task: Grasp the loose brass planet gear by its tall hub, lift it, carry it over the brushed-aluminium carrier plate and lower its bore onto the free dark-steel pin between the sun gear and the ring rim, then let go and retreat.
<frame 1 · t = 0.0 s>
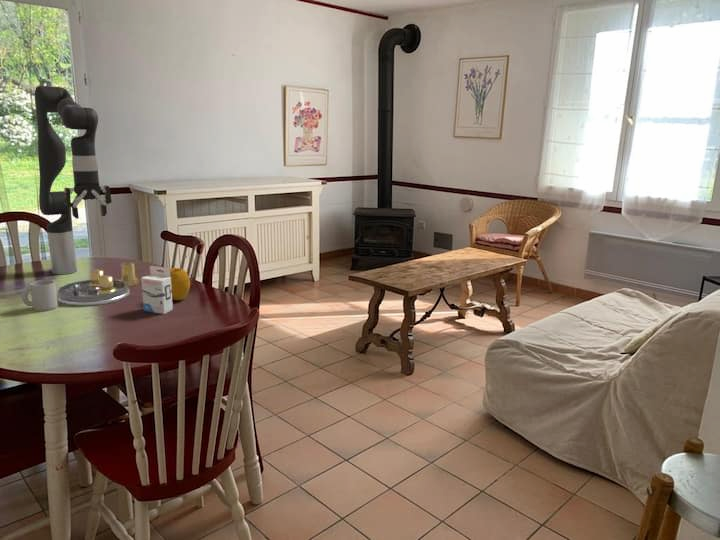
hand: (90, 217, 188), 29 cm above the table, fingers open, 8 cm apart
cup: (41, 309, 184), on the table
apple: (177, 299, 197), on the table
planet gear: (129, 283, 214), on the table
carrier: (94, 295, 198), on the table
ink box: (158, 311, 185), on the table
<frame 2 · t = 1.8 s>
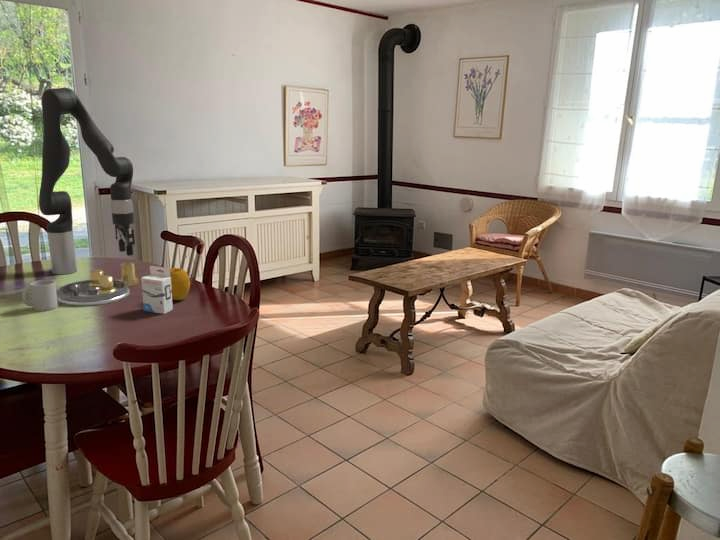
hand: (126, 253, 210), 12 cm above the table, fingers open, 8 cm apart
nothing on the table moved.
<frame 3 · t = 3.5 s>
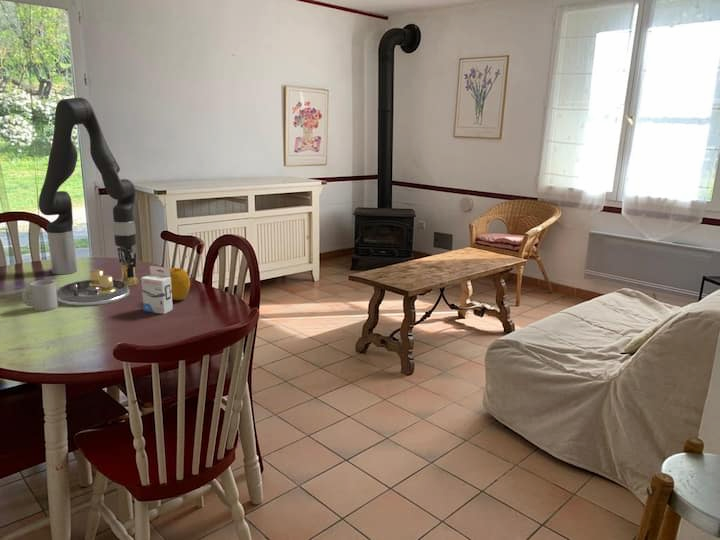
hand: (128, 275, 213), 3 cm above the table, fingers closed on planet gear, 4 cm apart
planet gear: (129, 283, 214), on the table, touching gripper
everything else where it was.
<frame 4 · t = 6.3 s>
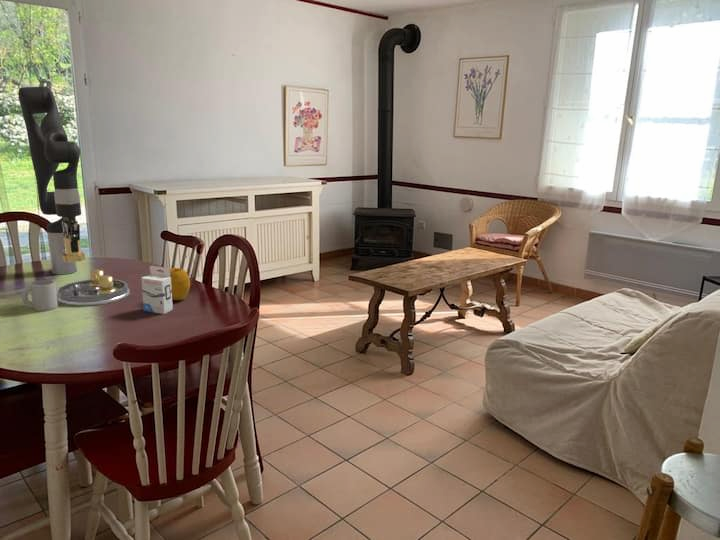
hand: (73, 250, 190), 17 cm above the table, fingers closed on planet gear, 4 cm apart
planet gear: (74, 259, 191), point 14 cm above the table, touching gripper
everything else where it was.
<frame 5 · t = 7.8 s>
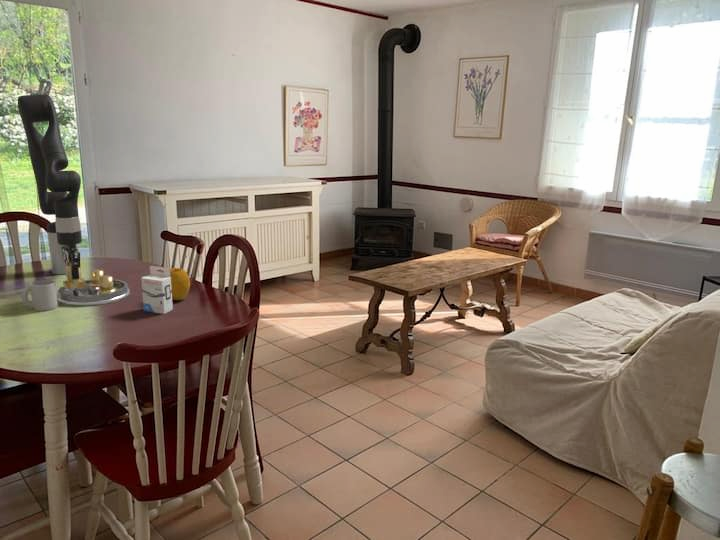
hand: (73, 277, 192), 8 cm above the table, fingers closed on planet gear, 4 cm apart
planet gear: (74, 286, 193), point 5 cm above the table, touching gripper
everything else where it was.
when the fingers open (6 cm above the table, at t = 8.9 s): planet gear drops 1 cm, resting on carrier.
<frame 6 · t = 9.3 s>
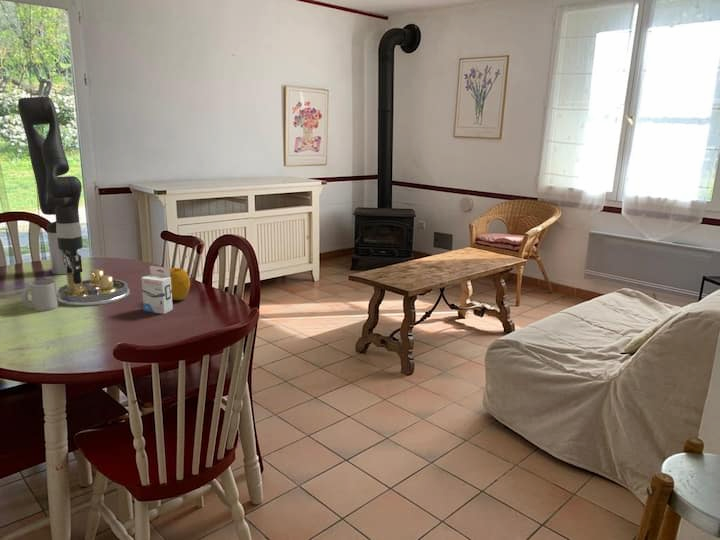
hand: (74, 280, 193), 7 cm above the table, fingers open, 7 cm apart
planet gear: (76, 295, 194), point 1 cm above the table, touching carrier
everything else where it was.
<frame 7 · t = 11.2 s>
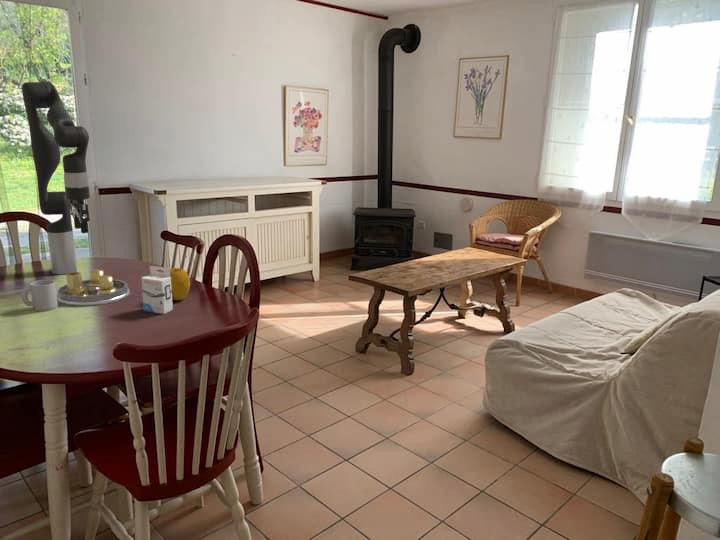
hand: (81, 230, 196), 23 cm above the table, fingers open, 8 cm apart
nothing on the table moved.
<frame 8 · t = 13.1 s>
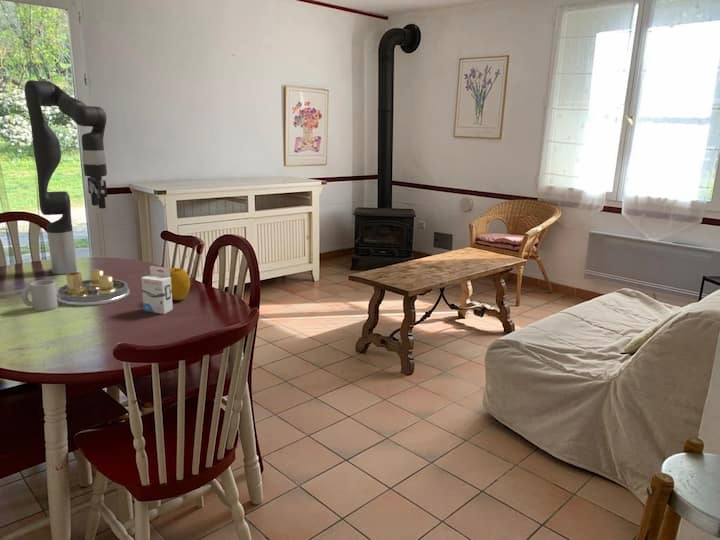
hand: (98, 206, 205), 30 cm above the table, fingers open, 8 cm apart
nothing on the table moved.
at the end: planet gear 0.1 cm from the target spot on the carrier, point 1.2 cm above the carrier's base; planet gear tilted 0°; the gripper is holding nothing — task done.
